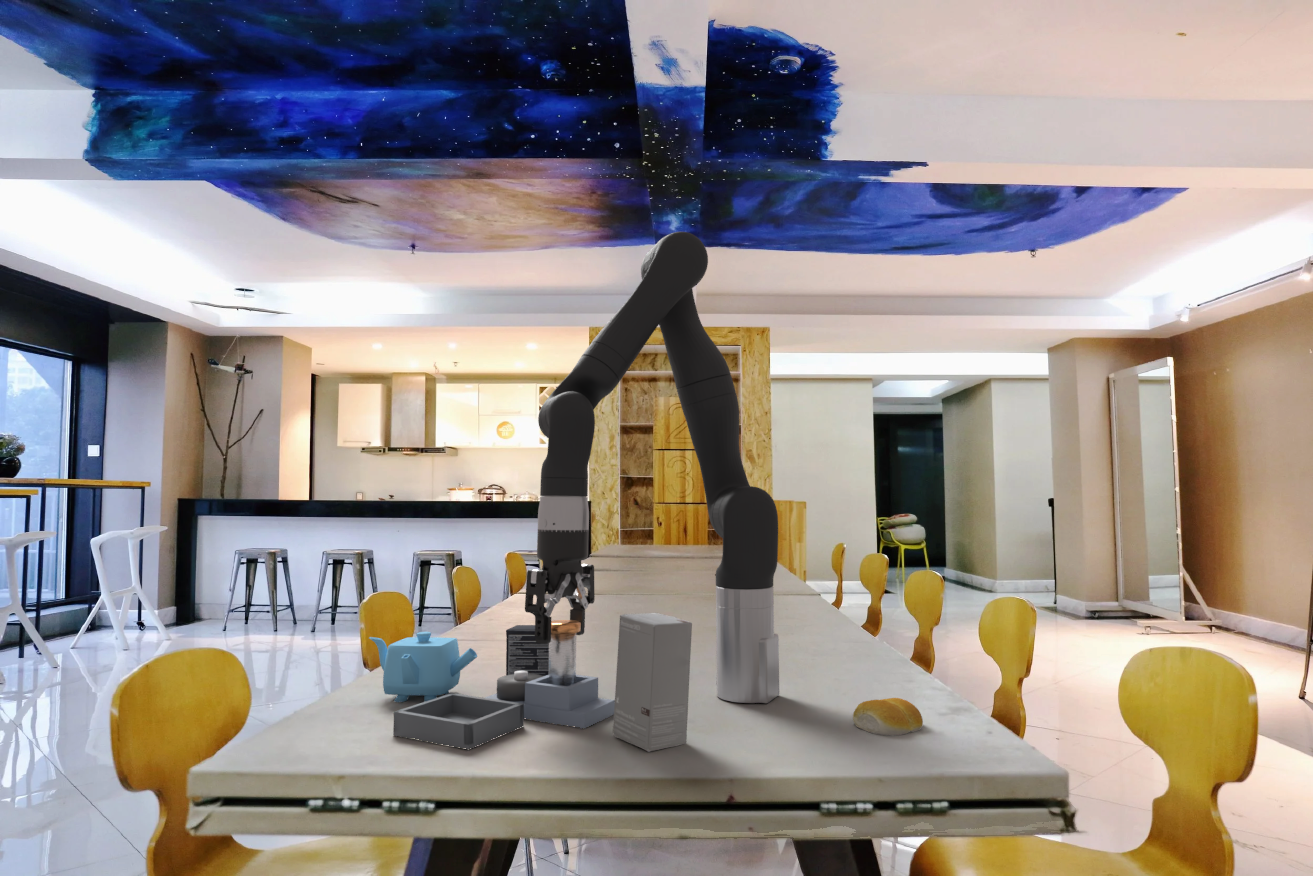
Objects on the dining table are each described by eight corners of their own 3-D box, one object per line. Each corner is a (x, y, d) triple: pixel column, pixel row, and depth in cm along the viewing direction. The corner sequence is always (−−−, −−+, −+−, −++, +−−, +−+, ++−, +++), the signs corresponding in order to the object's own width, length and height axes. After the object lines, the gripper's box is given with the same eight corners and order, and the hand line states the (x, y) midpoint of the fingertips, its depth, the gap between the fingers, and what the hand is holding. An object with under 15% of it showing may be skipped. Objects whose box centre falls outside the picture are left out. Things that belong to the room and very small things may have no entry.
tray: (523, 727, 102) (523, 703, 102) (468, 750, 92) (469, 724, 93) (451, 714, 108) (452, 693, 108) (393, 735, 98) (393, 711, 99)
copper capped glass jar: (586, 699, 109) (587, 621, 110) (566, 707, 104) (567, 626, 105) (557, 695, 111) (558, 619, 112) (536, 703, 107) (537, 624, 108)
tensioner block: (614, 714, 108) (614, 676, 108) (584, 729, 101) (584, 688, 101) (516, 699, 116) (516, 664, 117) (481, 712, 109) (482, 674, 110)
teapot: (488, 688, 124) (489, 626, 125) (458, 711, 110) (460, 642, 111) (384, 686, 125) (386, 625, 126) (342, 708, 112) (344, 640, 112)
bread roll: (934, 729, 101) (933, 699, 101) (890, 741, 96) (889, 709, 96) (885, 715, 108) (884, 687, 108) (842, 725, 103) (841, 695, 103)
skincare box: (611, 737, 97) (611, 614, 99) (655, 727, 102) (655, 610, 103) (649, 754, 91) (649, 622, 92) (694, 743, 95) (693, 617, 96)
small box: (577, 687, 124) (577, 623, 125) (569, 697, 118) (569, 630, 119) (515, 686, 125) (516, 623, 126) (504, 696, 119) (504, 629, 120)
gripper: (555, 528, 102) (552, 649, 100) (609, 527, 114) (608, 634, 113) (512, 527, 105) (509, 644, 104) (569, 525, 118) (567, 629, 116)
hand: (560, 638), depth 108 cm, fingers open, 8 cm apart
